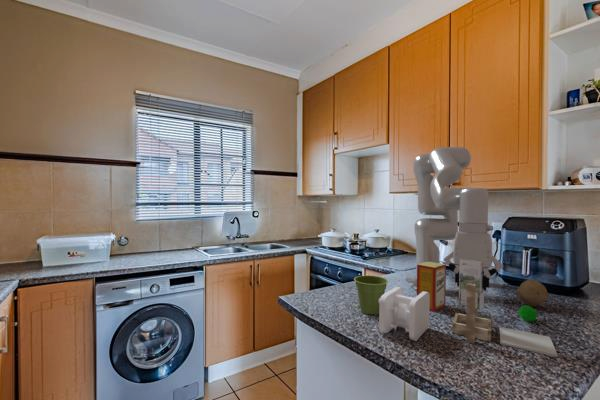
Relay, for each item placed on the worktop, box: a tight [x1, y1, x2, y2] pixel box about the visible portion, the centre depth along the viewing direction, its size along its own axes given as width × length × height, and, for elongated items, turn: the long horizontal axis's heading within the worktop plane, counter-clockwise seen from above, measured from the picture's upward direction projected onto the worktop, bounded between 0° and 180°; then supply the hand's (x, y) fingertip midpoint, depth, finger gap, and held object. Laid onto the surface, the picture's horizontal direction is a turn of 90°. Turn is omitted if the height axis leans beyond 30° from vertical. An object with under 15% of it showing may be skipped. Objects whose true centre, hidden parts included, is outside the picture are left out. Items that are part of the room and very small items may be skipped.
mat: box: [499, 326, 558, 358], centre depth 83 cm, size 12×12×1 cm
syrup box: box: [458, 259, 485, 311], centre depth 90 cm, size 6×6×14 cm
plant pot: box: [353, 274, 389, 315], centre depth 105 cm, size 12×12×11 cm
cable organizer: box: [378, 286, 430, 342], centre depth 89 cm, size 15×11×12 cm
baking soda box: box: [416, 262, 447, 313], centre depth 110 cm, size 10×6×16 cm
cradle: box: [452, 283, 492, 345], centre depth 89 cm, size 10×18×16 cm, turn 147°
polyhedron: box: [518, 304, 538, 323], centre depth 98 cm, size 5×5×5 cm
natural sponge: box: [516, 279, 549, 307], centre depth 112 cm, size 9×9×10 cm
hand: (471, 286), depth 90 cm, fingers closed on syrup box, 6 cm apart
